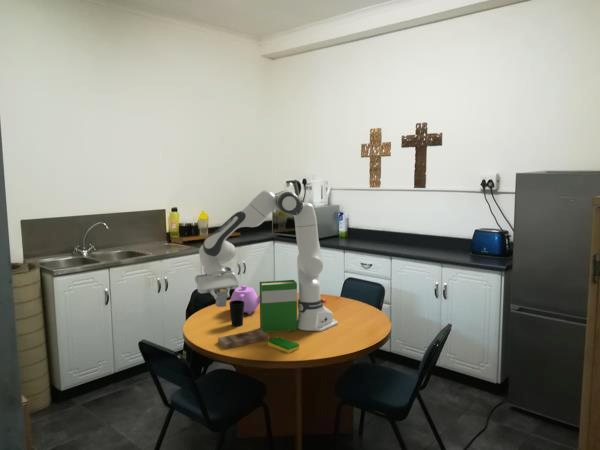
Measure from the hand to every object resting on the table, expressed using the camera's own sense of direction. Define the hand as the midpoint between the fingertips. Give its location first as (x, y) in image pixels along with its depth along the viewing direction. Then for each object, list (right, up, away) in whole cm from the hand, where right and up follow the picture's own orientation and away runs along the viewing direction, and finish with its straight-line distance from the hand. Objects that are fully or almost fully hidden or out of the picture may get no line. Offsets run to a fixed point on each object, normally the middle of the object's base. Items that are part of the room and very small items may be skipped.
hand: (222, 297), depth 218 cm
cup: (+4, -18, +22) cm, 28 cm away
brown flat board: (+10, -20, 0) cm, 23 cm away
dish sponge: (+29, -22, -7) cm, 37 cm away
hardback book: (+26, -18, +16) cm, 36 cm away
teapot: (+7, -15, +42) cm, 45 cm away
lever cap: (-1, -4, +1) cm, 4 cm away
